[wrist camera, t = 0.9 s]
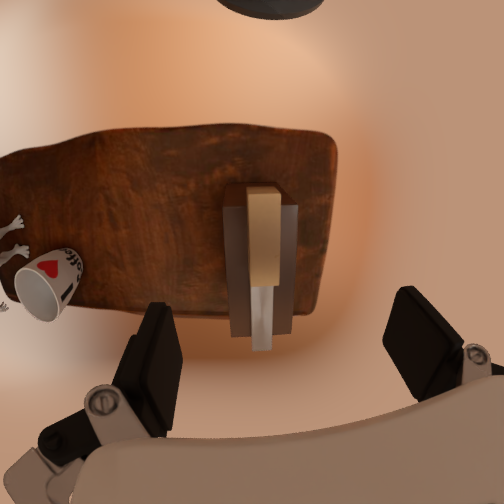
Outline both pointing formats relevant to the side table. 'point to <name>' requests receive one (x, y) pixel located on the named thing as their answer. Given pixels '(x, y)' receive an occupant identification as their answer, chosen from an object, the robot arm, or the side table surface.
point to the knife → (263, 260)
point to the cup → (49, 283)
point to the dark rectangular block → (238, 260)
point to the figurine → (17, 249)
